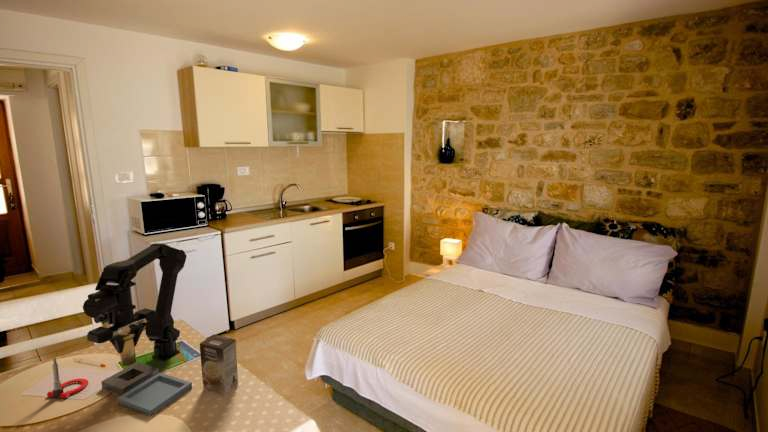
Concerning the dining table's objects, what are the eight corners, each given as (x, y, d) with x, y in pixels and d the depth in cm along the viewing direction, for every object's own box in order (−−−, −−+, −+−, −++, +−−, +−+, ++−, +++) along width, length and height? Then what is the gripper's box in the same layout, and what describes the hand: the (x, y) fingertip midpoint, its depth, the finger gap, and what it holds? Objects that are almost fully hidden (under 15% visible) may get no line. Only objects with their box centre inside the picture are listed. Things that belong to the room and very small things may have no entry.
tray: (160, 378, 127) (160, 372, 127) (192, 388, 122) (191, 382, 122) (118, 404, 114) (117, 398, 114) (151, 416, 109) (150, 410, 109)
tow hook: (72, 380, 126) (44, 397, 117) (69, 343, 125) (39, 357, 116) (95, 383, 125) (68, 400, 116) (91, 345, 123) (63, 360, 114)
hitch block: (138, 368, 133) (137, 361, 132) (159, 375, 129) (158, 368, 128) (102, 388, 122) (101, 381, 121) (123, 396, 118) (122, 389, 117)
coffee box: (202, 390, 121) (197, 343, 118) (216, 378, 127) (213, 333, 124) (225, 396, 118) (221, 348, 115) (239, 384, 124) (236, 338, 121)
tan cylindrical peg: (131, 356, 127) (127, 329, 125) (142, 360, 125) (138, 332, 123) (115, 364, 122) (111, 336, 121) (126, 368, 121) (122, 339, 119)
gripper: (132, 289, 132) (137, 331, 135) (71, 311, 115) (79, 358, 117) (155, 294, 128) (160, 338, 130) (96, 317, 111) (103, 366, 113)
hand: (127, 349), depth 123 cm, fingers closed on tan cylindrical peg, 4 cm apart
